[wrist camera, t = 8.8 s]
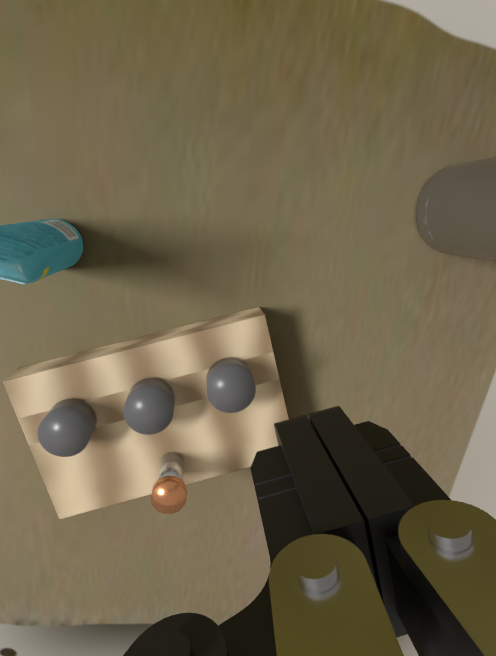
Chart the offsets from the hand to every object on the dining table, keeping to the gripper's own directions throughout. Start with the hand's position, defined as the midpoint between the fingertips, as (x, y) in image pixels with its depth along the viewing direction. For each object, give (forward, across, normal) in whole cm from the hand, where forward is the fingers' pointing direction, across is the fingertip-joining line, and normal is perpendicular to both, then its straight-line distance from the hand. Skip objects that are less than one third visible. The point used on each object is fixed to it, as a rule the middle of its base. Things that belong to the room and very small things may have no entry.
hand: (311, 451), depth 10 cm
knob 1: (+36, +18, +10) cm, 42 cm away
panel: (+37, +10, +13) cm, 40 cm away
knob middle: (+37, +10, +11) cm, 39 cm away
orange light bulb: (+33, +10, +18) cm, 39 cm away
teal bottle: (+37, +15, -6) cm, 41 cm away
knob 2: (+36, +2, +11) cm, 38 cm away
